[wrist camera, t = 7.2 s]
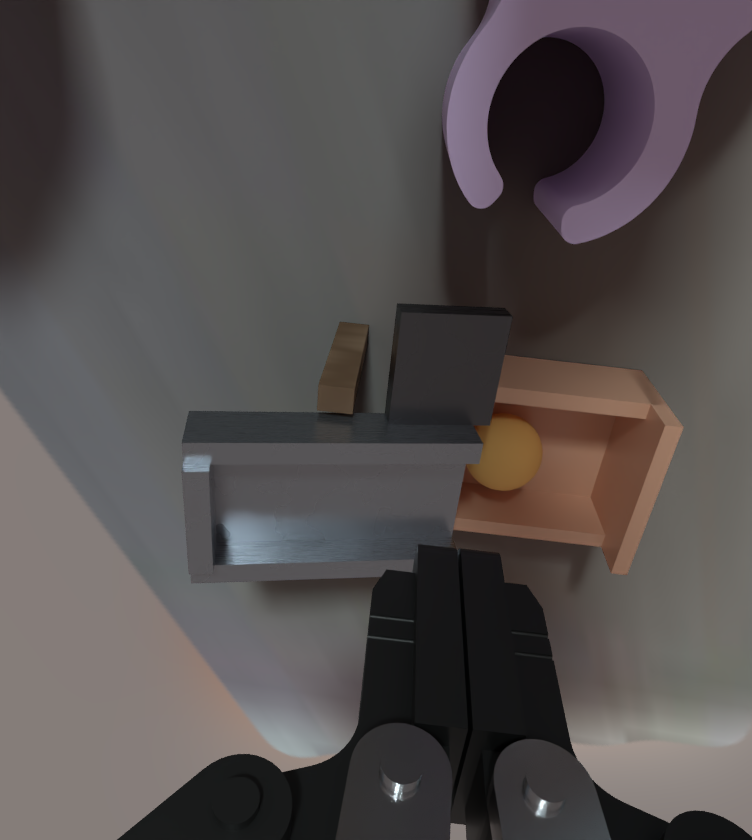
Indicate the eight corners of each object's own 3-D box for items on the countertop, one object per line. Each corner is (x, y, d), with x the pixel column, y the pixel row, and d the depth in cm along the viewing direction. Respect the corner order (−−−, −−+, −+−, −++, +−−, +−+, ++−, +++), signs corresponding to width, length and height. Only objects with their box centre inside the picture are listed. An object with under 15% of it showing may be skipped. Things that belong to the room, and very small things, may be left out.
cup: (435, 484, 37) (436, 552, 32) (458, 349, 33) (464, 402, 28) (598, 503, 37) (626, 575, 32) (642, 370, 33) (683, 427, 27)
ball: (466, 396, 33) (476, 435, 30) (540, 403, 33) (559, 442, 30) (454, 460, 35) (462, 503, 32) (525, 465, 35) (540, 509, 32)
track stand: (328, 483, 37) (308, 570, 31) (339, 321, 32) (318, 384, 26) (353, 486, 37) (338, 574, 31) (368, 325, 32) (354, 388, 26)
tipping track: (197, 545, 30) (189, 591, 27) (182, 294, 24) (171, 323, 21) (458, 538, 32) (474, 581, 29) (504, 308, 26) (530, 335, 23)
